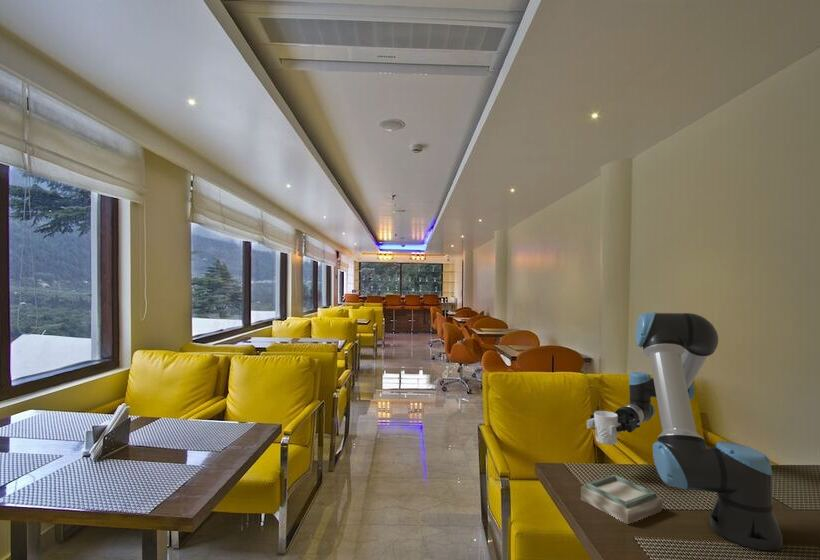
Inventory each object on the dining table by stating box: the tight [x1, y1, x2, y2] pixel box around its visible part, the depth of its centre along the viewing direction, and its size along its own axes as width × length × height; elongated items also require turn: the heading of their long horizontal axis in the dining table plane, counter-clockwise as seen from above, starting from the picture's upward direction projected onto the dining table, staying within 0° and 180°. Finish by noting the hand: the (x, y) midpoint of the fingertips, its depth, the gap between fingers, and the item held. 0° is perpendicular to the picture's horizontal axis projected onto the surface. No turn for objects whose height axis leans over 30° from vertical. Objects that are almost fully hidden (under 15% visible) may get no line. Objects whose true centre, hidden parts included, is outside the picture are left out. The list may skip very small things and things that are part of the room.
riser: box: [580, 474, 663, 525], centre depth 124 cm, size 16×16×5 cm
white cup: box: [593, 410, 618, 446], centre depth 145 cm, size 8×8×10 cm
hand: (599, 427), depth 142 cm, fingers closed on white cup, 8 cm apart
